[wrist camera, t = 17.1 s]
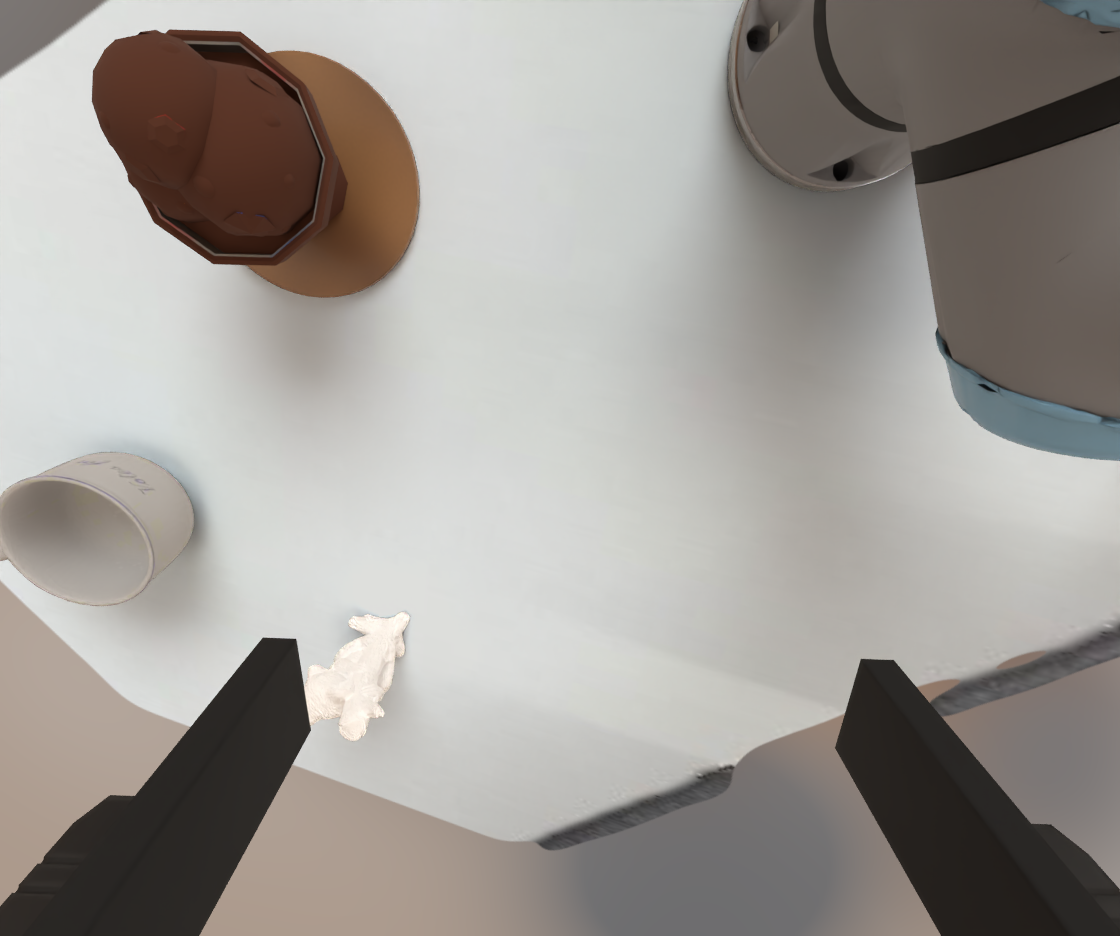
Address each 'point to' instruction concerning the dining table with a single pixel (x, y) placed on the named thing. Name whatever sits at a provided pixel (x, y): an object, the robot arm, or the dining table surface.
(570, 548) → the dining table surface
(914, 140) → the robot arm
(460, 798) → the dining table surface
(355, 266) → the brown round coaster
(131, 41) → the ice cream bowl
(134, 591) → the teacup
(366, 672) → the koala figurine
